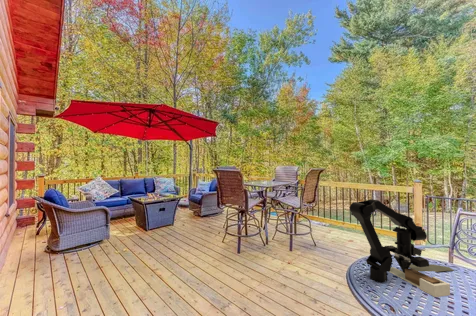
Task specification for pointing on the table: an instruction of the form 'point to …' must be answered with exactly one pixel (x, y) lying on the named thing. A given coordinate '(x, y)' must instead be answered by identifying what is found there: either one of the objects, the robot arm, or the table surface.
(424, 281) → the end cap
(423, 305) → the table surface
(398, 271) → the board
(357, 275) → the table surface
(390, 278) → the table surface
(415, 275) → the slat
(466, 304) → the table surface
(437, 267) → the stone slab
